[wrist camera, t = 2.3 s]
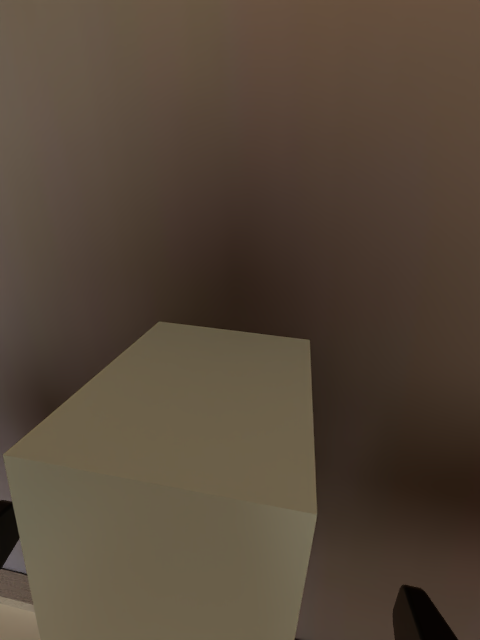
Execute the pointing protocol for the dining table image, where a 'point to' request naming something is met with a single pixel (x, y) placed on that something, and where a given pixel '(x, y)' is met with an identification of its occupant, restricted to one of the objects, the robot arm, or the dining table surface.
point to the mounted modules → (17, 624)
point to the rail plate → (15, 590)
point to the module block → (173, 492)
